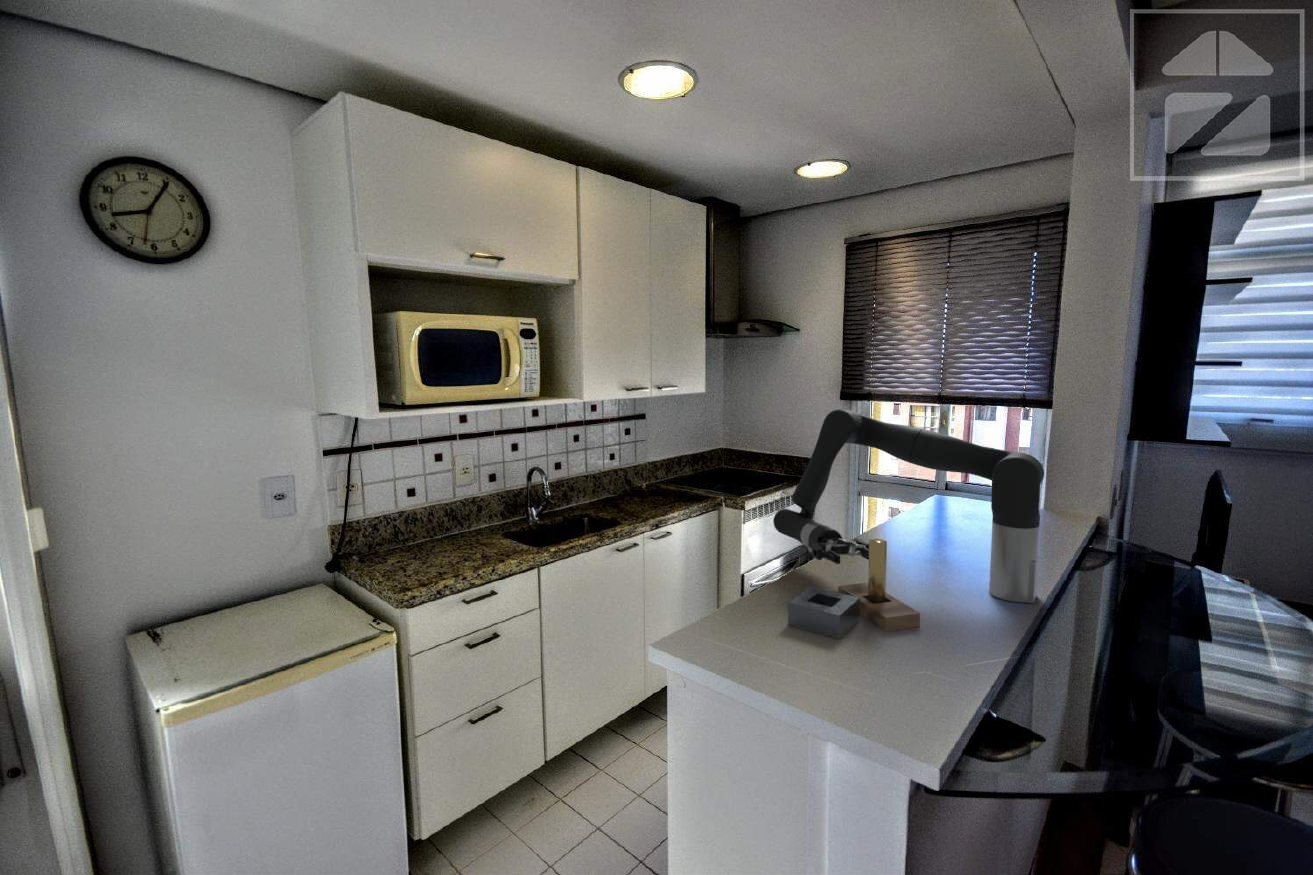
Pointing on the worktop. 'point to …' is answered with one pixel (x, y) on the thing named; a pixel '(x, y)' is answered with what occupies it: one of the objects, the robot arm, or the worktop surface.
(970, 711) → the worktop surface
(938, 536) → the worktop surface
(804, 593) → the seat block
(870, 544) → the axle
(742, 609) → the worktop surface
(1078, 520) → the worktop surface
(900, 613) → the beam
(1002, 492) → the robot arm
